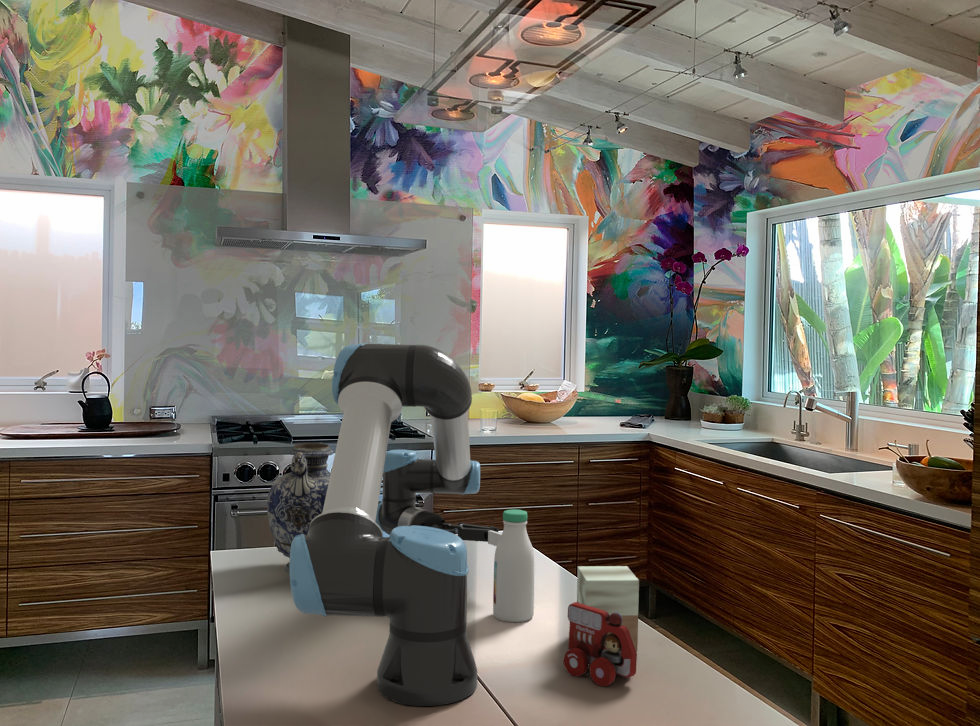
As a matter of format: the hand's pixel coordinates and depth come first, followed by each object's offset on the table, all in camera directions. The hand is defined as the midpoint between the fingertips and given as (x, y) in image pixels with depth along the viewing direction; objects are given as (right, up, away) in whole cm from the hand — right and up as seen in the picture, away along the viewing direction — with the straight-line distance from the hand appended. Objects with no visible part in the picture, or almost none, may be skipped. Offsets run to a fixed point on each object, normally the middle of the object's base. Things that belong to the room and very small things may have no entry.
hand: (483, 548), depth 162 cm
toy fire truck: (+19, -13, -33) cm, 40 cm away
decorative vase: (-39, -10, +22) cm, 46 cm away
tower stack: (+22, -12, -19) cm, 31 cm away
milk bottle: (+6, -11, -7) cm, 15 cm away
